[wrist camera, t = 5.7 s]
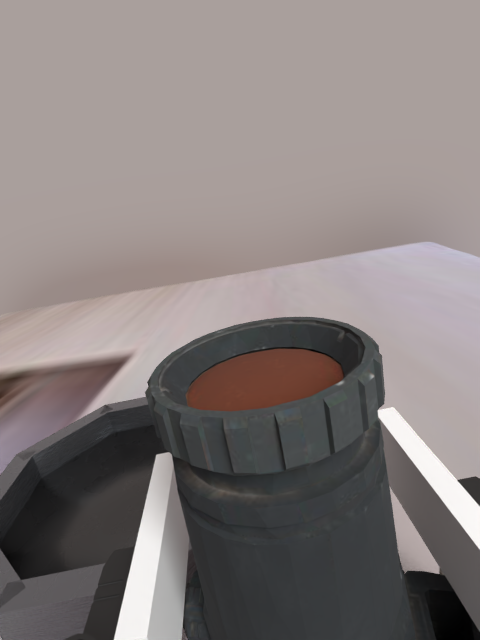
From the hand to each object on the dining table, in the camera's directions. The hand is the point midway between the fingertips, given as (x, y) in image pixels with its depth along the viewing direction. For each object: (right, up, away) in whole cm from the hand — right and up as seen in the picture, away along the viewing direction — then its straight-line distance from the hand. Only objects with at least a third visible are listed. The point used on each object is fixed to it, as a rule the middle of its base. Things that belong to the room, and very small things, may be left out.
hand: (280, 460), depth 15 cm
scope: (+3, -8, -2) cm, 9 cm away
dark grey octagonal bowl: (-9, -6, +11) cm, 15 cm away
